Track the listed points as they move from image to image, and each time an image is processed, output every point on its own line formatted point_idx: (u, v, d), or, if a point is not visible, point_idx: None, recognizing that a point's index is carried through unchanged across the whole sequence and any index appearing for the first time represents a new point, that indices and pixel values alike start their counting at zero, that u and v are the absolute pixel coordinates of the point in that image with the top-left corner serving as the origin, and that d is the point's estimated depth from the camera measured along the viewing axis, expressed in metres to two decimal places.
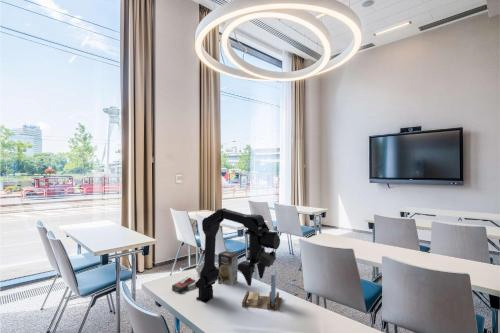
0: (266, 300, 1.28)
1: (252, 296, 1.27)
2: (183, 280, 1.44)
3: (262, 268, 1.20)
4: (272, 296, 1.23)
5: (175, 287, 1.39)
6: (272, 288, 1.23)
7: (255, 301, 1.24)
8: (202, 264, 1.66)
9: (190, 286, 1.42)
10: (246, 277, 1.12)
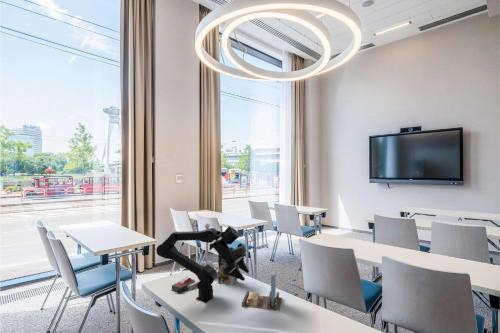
0: (266, 300, 1.28)
1: (252, 296, 1.27)
2: (183, 280, 1.44)
3: (242, 265, 1.33)
4: (272, 296, 1.23)
5: (175, 287, 1.39)
6: (272, 288, 1.23)
7: (255, 301, 1.24)
8: (202, 264, 1.66)
9: (190, 286, 1.42)
10: (237, 275, 1.23)
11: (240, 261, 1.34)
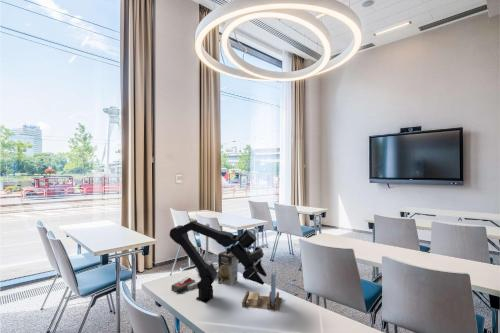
0: (266, 300, 1.28)
1: (252, 296, 1.27)
2: (183, 280, 1.43)
3: (260, 268, 1.32)
4: (272, 296, 1.23)
5: (174, 287, 1.39)
6: (272, 288, 1.23)
7: (255, 301, 1.24)
8: None
9: (189, 286, 1.41)
10: (256, 279, 1.22)
11: (257, 265, 1.32)
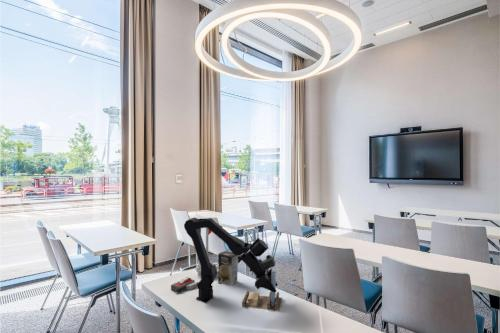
0: (266, 300, 1.28)
1: (252, 296, 1.27)
2: (182, 280, 1.44)
3: None
4: (272, 296, 1.23)
5: (174, 287, 1.39)
6: None
7: (255, 301, 1.24)
8: None
9: (189, 286, 1.41)
10: (268, 287, 1.22)
11: (268, 274, 1.30)
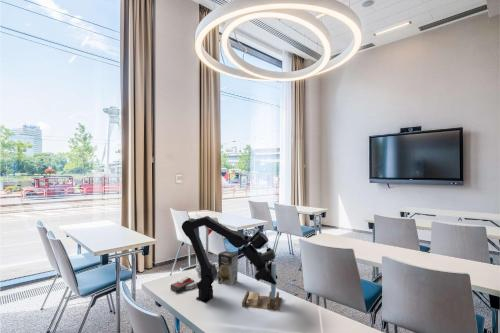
0: (266, 300, 1.28)
1: (252, 296, 1.27)
2: (182, 280, 1.44)
3: None
4: (272, 288, 1.23)
5: (173, 287, 1.39)
6: None
7: (255, 301, 1.24)
8: None
9: (188, 286, 1.41)
10: (268, 279, 1.22)
11: (268, 267, 1.30)
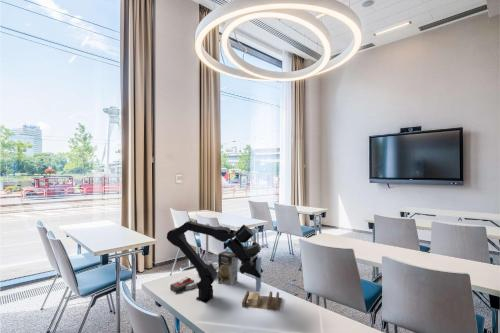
0: (266, 300, 1.28)
1: (252, 296, 1.27)
2: (182, 280, 1.44)
3: None
4: (257, 282, 1.24)
5: (173, 287, 1.39)
6: None
7: (255, 301, 1.24)
8: None
9: (188, 286, 1.41)
10: (253, 273, 1.23)
11: (254, 261, 1.31)
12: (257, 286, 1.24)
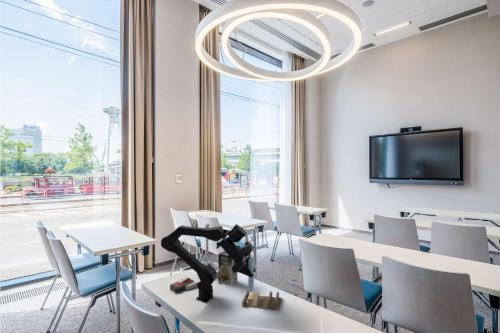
0: (266, 300, 1.28)
1: (252, 296, 1.27)
2: (181, 280, 1.43)
3: None
4: (249, 281, 1.25)
5: (172, 286, 1.39)
6: None
7: (255, 301, 1.24)
8: None
9: (188, 286, 1.41)
10: (245, 272, 1.24)
11: (247, 260, 1.32)
12: (249, 285, 1.25)
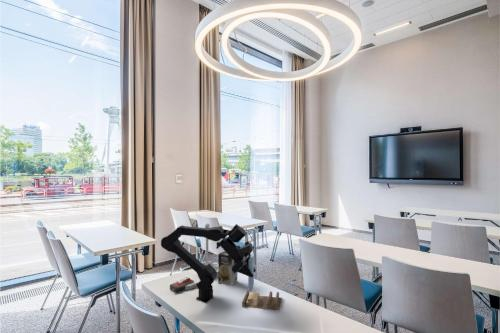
0: (266, 300, 1.28)
1: (252, 296, 1.27)
2: (181, 280, 1.43)
3: None
4: (249, 281, 1.25)
5: (172, 287, 1.39)
6: None
7: (255, 301, 1.24)
8: None
9: (187, 287, 1.41)
10: (245, 272, 1.24)
11: (247, 260, 1.32)
12: (249, 285, 1.25)
